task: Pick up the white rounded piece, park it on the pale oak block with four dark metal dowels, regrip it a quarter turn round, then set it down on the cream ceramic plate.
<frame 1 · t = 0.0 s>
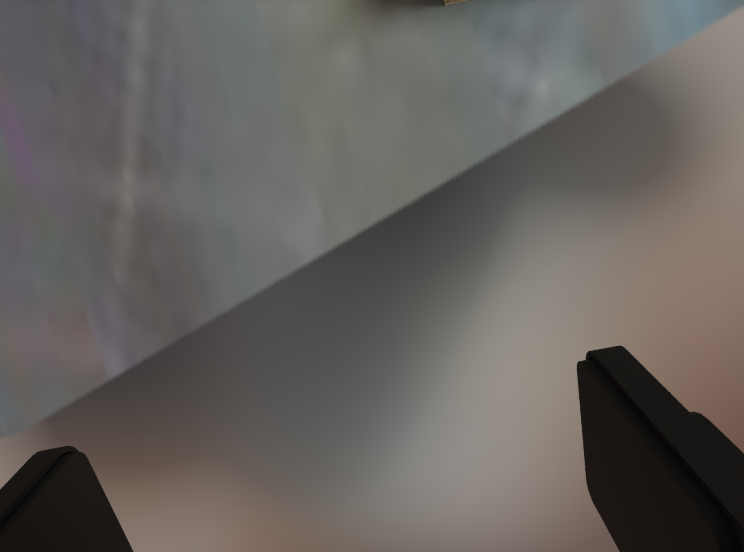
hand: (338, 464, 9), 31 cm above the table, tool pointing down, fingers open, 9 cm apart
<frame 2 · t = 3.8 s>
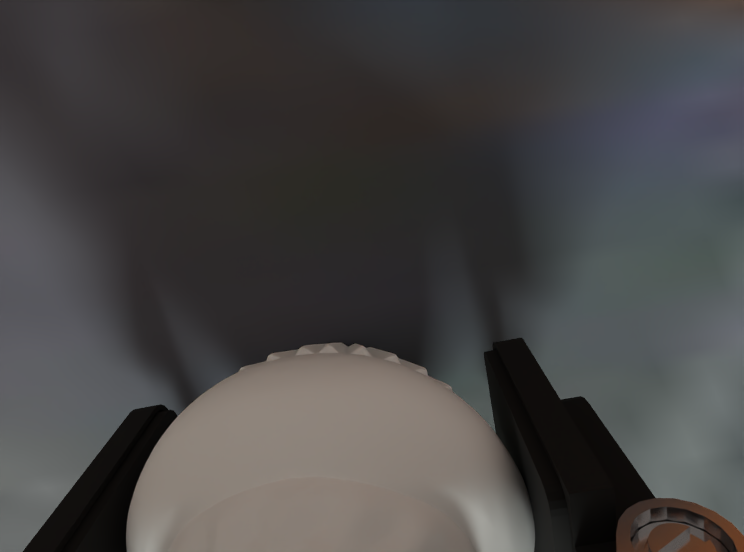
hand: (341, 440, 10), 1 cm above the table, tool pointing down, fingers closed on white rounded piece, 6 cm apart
white rounded piece: (345, 401, 11), on the table, touching gripper
when the fingers open (7 cm above the table, at t = 9.2 s): white rounded piece drops 1 cm, resting on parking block.
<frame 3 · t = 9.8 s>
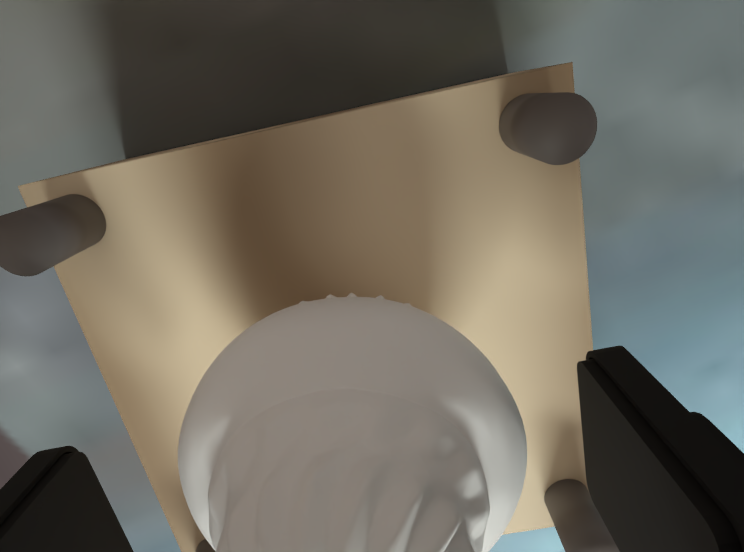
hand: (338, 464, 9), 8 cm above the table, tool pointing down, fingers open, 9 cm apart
white rounded piece: (358, 358, 13), point 5 cm above the table, touching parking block
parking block: (354, 297, 17), on the table
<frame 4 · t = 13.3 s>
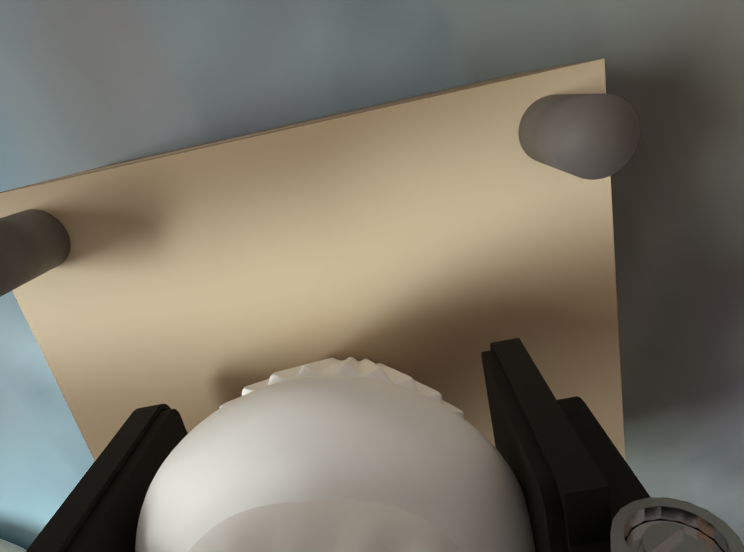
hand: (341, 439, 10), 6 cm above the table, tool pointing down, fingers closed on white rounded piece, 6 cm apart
white rounded piece: (349, 415, 11), point 5 cm above the table, touching gripper, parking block
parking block: (353, 315, 16), on the table
when the fingers open (4 cm above the table, at t = 20.4 s): white rounded piece drops 1 cm, resting on plate.
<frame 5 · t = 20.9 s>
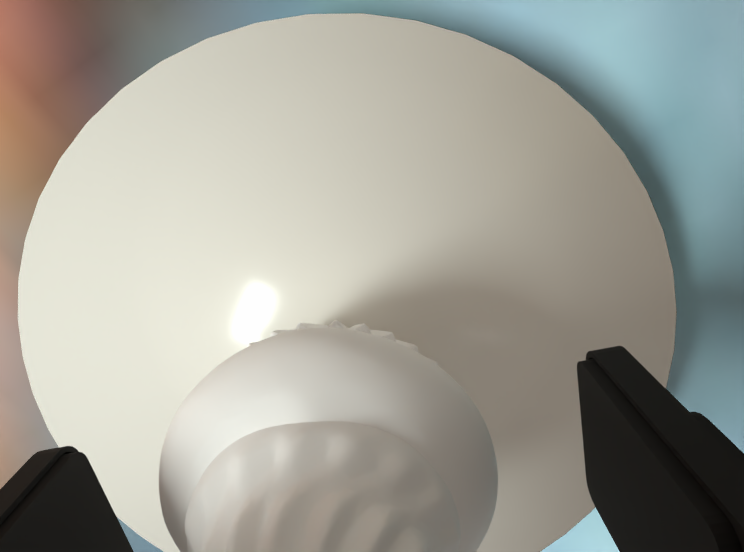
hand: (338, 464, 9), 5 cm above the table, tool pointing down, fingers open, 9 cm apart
plate: (349, 349, 14), on the table
white rounded piece: (341, 378, 13), point 1 cm above the table, touching plate
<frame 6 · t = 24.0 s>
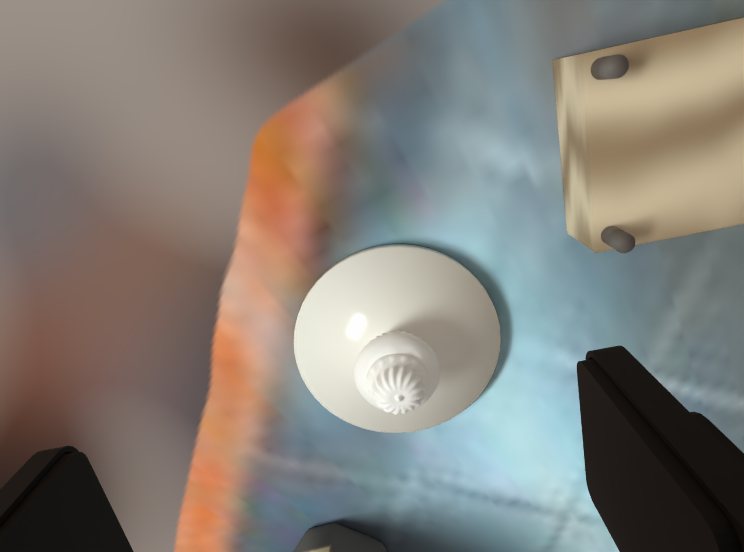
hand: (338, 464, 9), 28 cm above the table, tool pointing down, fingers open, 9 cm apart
plate: (396, 339, 40), on the table
white rounded piece: (394, 348, 39), point 1 cm above the table, touching plate
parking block: (647, 132, 35), on the table
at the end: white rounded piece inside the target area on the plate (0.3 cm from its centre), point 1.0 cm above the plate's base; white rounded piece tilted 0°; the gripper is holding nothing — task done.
